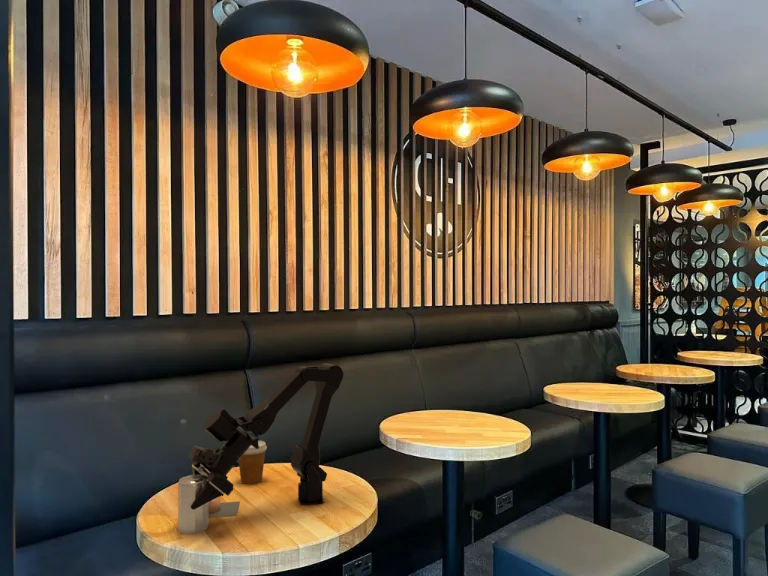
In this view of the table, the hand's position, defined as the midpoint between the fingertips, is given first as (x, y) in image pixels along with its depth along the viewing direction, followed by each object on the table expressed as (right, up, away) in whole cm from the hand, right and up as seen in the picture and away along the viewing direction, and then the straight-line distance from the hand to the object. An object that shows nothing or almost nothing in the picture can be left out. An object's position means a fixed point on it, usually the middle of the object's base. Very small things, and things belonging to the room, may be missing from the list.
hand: (187, 503), depth 134 cm
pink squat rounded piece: (+2, -6, +12) cm, 13 cm away
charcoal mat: (+2, -7, +12) cm, 14 cm away
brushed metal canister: (+1, -7, +1) cm, 7 cm away
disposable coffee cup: (+7, -7, +35) cm, 36 cm away
